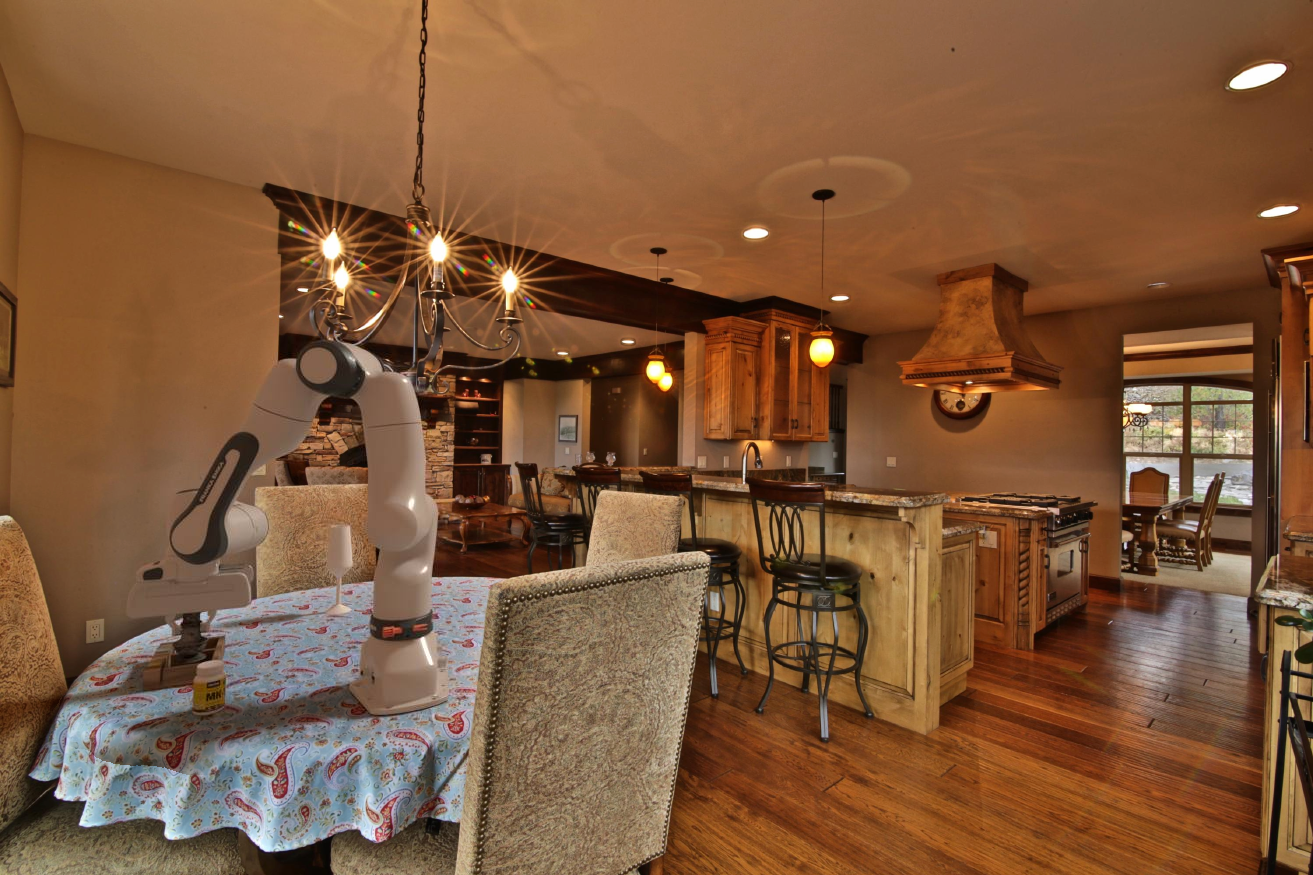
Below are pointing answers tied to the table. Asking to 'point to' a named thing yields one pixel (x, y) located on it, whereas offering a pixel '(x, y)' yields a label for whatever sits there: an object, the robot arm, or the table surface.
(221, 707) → the supplement bottle
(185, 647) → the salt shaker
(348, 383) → the robot arm
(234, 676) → the table surface
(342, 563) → the champagne flute
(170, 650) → the divided sorting tray
